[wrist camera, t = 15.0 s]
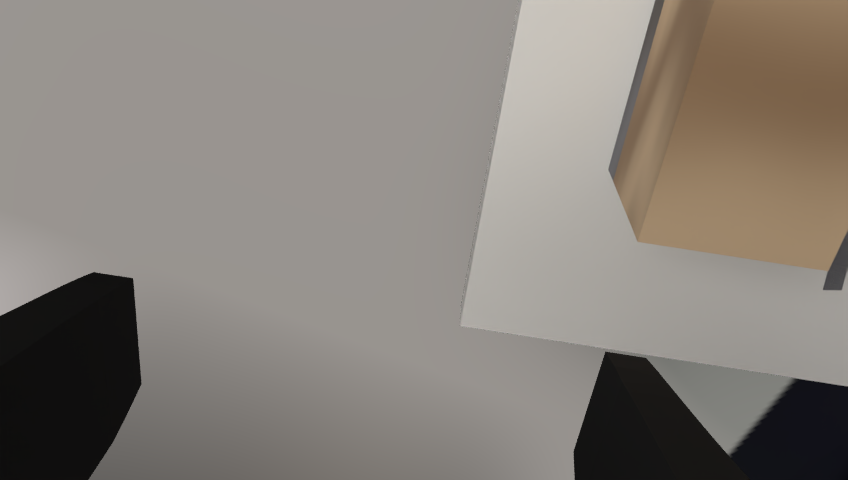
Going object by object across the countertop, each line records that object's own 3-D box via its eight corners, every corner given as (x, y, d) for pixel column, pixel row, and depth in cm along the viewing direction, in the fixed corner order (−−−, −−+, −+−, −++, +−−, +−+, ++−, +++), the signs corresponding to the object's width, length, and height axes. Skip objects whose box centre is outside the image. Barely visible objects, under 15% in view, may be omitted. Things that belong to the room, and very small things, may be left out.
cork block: (761, 192, 18) (828, 271, 15) (608, 169, 18) (637, 241, 15) (880, -108, 15) (1004, -100, 11) (692, -136, 15) (757, -138, 11)
